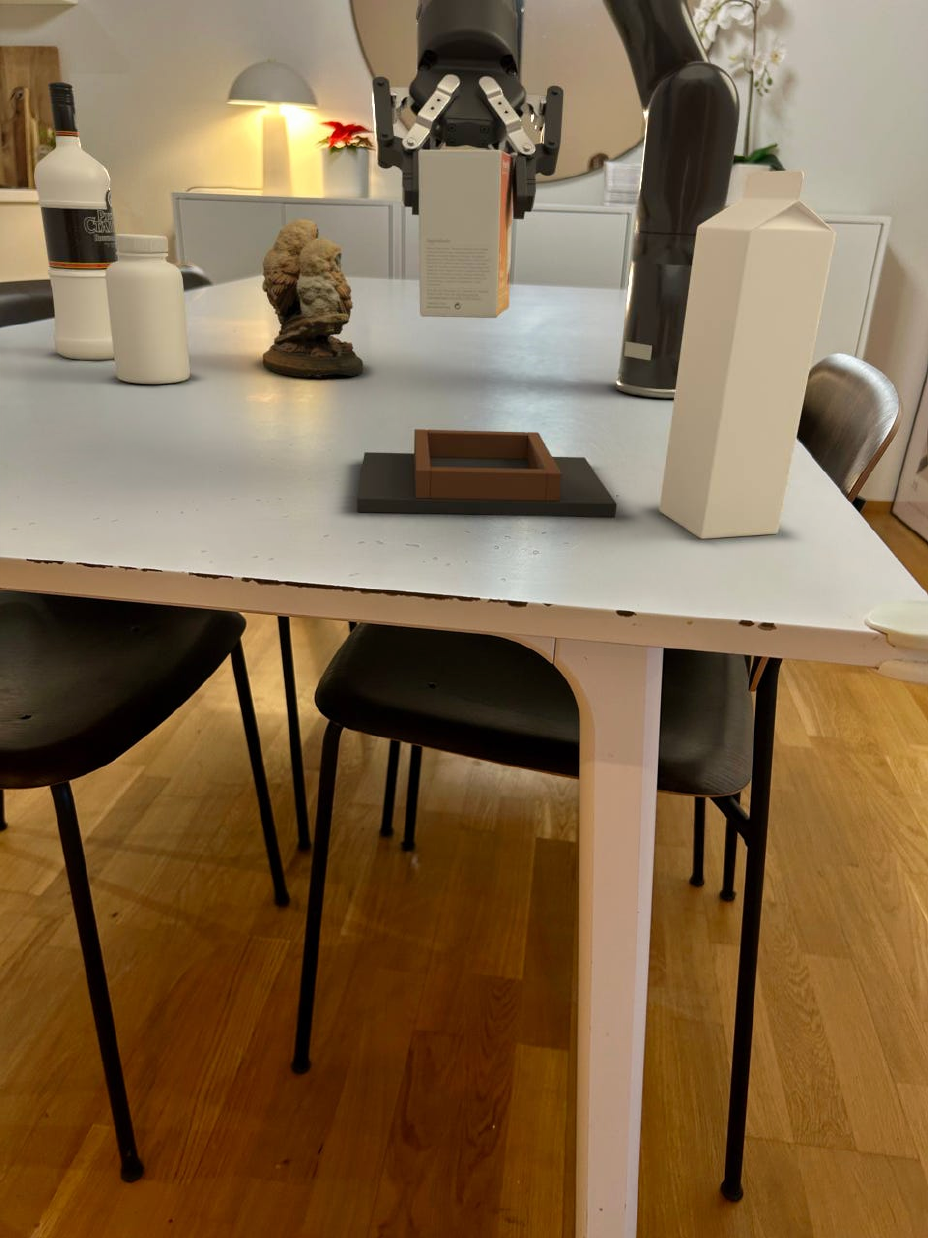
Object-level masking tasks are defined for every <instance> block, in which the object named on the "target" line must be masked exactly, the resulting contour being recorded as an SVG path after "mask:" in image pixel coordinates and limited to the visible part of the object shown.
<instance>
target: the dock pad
mask: <svg viewBox="0 0 928 1238" xmlns="http://www.w3.org/2000/svg"><path fill="white" fill-rule="evenodd" d="M413 432H414V435H413V437H414V439H413V452H412V453H411V452H374V451H373V452H372V451H369V452H368V451H365V452H364V454H363V459H362V466H361V472H360V477H359V484H358V489H357V499H356V504H357V505H356V511H357V512H358V513H390V514H397V513H399V514H443V515H444V514H447V515H449V514H450V515H453V514H454V515H493V516H494V515H495V516H497V515H498V516H501V515H503V516H547V517H548V516H553V517H555V516H556V517H601V518H602V517H603V518H604V517H605V518H611V517H612V518H614V517H616V512H617V501H616V500H615V499H614V498H613V497H612V495H611V494H610V492H609V491H608V489H607V488H606V486H605V485H604V483H603V482H602V480H601V479H600V478H599V476H598V474H597V473H596V472H595V470H594V469H593V468H592V466H591V465H590V463H589V462H588V461H587V459H586V457H581V456H580V457H579V456H553V455H552V454H551V452H550V450H549V448H548V447H547V445H546V443H545V442H544V440H543V438H542V436H541V435H540V433H539V432H537V431H535V432H533V431H532V432H531V431H499V430H497V431H495V430H492V431H491V430H490V431H489V430H457V429H417V428H416V429H415V428H414V431H413Z"/></svg>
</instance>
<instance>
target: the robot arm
mask: <svg viewBox="0 0 928 1238" xmlns="http://www.w3.org/2000/svg"><path fill="white" fill-rule="evenodd" d="M601 2H602V5H603V6H604V8H605V10H606V12H607V15H608V17H609V18H610V21H611V22H612V25H613V26H614V29H615V31H616V33H617V34H618V37H619V39H620V41H621V43H622V46H623V49H624V52H625V55H626V57H627V60H628V63H629V67H630V70H631V73H632V77H633V81H634V84H635V88H636V91H637V92H636V93H637V95H638V100H639V103H640V107H641V112H642V116H643V120H644V121H643V122H644V126H645V127H644V128H645V134H644V145H643V154H642V162H641V173H640V182H639V189H638V195H637V203H636V210H635V219H634V232H633V239H632V250H631V259H630V267H629V276H628V287H627V294H626V304H625V311H624V312H625V314H624V322H623V331H622V339H621V347H620V357H619V367H618V373H617V374H618V376H617V379H616V389H617V390H619V391H620V392H623V393H625V394H629V395H634V396H639V397H640V396H641V397H647V398H655V399H656V398H657V399H658V398H659V399H674V397H675V390H676V382H677V375H678V368H679V360H680V353H681V345H682V338H683V331H684V323H685V316H686V308H687V301H688V293H689V286H690V279H691V271H692V264H693V256H694V249H695V242H696V234H697V228H698V226H699V225H700V224H702V223H704V222H705V221H707V220H708V219H710V218H712V217H713V216H715V215H716V214H718V213H720V212H721V211H723V210H724V209H726V205H727V201H728V200H727V199H728V194H729V189H730V183H731V182H730V180H731V175H732V170H733V163H734V158H735V152H736V151H735V150H736V145H737V139H738V132H739V125H740V124H739V123H740V115H741V114H740V113H741V103H740V94H739V91H738V88H737V85H736V84H735V81H734V80H733V78H732V77H731V76H730V74H729V73H728V72H727V71H726V70H725V69H723V68H722V67H720V66H719V65H717V64H714V63H712V62H711V60H710V58H709V55H708V53H707V51H706V49H705V46H704V43H703V41H702V39H701V37H700V34H699V32H698V29H697V27H696V24H695V22H694V19H693V16H692V13H691V9H690V6H689V2H688V0H601ZM415 13H416V14H415V23H416V52H415V54H416V55H415V57H416V58H415V63H416V64H415V77H414V78H413V80H411V82H410V83H409V86H390V80H389V79H388V78H387V77H384V76H376V77H375V78H373V80H372V81H371V82H372V84H371V85H372V109H373V111H372V112H373V114H372V115H373V126H374V137H375V150H376V151H375V152H376V163H377V166H378V167H380V168H382V169H385V170H387V169H392V168H393V167H394V168H395V167H396V168H397V169H399V170H400V171H401V173H402V175H401V202H402V204H403V205H404V207H405V208H411V215H412V216H419V156H418V152H419V151H420V150H442V148H443V146H445V147H447V148H448V147H450V148H459V147H466V146H468V147H472V148H476V149H486V150H501V151H503V152H505V153H507V154H509V155H511V156H513V157H514V165H513V179H512V191H513V210H512V220H524V219H525V213H531V212H532V210H533V208H534V205H535V199H536V193H537V182H536V181H537V180H536V179H537V178H536V175H538V174H541V175H543V176H545V177H550V176H553V175H554V174H555V173H556V168H557V164H558V159H559V153H560V148H561V143H562V127H563V112H564V111H563V109H564V90H563V88H562V87H561V86H558V85H551V86H549V87H547V89H546V93H545V95H544V94H537V93H530V92H529V93H528V92H527V91H526V88H525V87H524V85H523V84H522V83H521V81H520V77H519V51H518V49H519V48H518V26H519V17H518V11H517V5H516V0H417V7H416V12H415ZM408 108H409V109H410V111H411V112H412V114H413V115H414V116H415V122H414V124H413V125H412V126H411V128H410V129H409V130H408V132H407V133H406V134H405V135H404V137H400V136H396V135H395V133H394V130H395V129H394V125H395V124H397V123H398V119H400V118H401V117H402V113H403V111H404V110H405V109H408ZM524 114H526V115H528V116H529V117H530V118H531V123H532V124H533V125H534V126H535V129H534V130H535V131H536V132H540V143H536V144H535V143H534V142H533V141H532V140H531V139H530V137H529V135H528V134H527V133H526V132H525V130H524V128H523V124H522V119H521V118H522V117H523V116H524Z"/></svg>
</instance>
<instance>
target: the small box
mask: <svg viewBox="0 0 928 1238" xmlns="http://www.w3.org/2000/svg"><path fill="white" fill-rule="evenodd" d="M418 156H419V215H418V271H419V273H418V275H419V276H418V277H419V279H418V280H419V282H418V283H419V284H418V285H419V315H420V316H421V317H433V318H435V317H436V318H470V319H472V318H473V319H476V318H477V319H496V318H498V317H499V316H500V314H502V313H504V311H507V310H508V309H509V308H510V284H511V283H510V282H511V281H510V280H511V262H512V261H511V259H512V226H513V191H512V179H513V165H514V157H513V156H511V155H509V154H507V153H505V152H503V151H501V150H490V149H440V150H420V151H419V152H418Z"/></svg>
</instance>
